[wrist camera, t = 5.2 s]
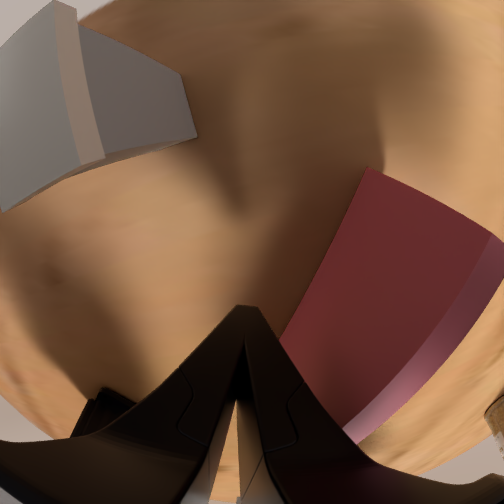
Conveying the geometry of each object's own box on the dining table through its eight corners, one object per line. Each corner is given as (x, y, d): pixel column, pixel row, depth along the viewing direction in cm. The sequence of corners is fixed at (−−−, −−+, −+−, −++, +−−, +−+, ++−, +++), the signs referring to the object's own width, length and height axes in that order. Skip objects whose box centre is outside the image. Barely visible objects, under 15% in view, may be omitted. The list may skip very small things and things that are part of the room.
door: (292, 384, 14) (298, 495, 8) (257, 375, 13) (251, 492, 8) (409, 189, 9) (532, 270, 3) (366, 166, 9) (492, 232, 3)
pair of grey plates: (291, 424, 16) (294, 520, 10) (262, 427, 16) (258, 521, 10) (185, 70, 8) (50, -2, 2) (135, 90, 8) (-27, 73, 2)
